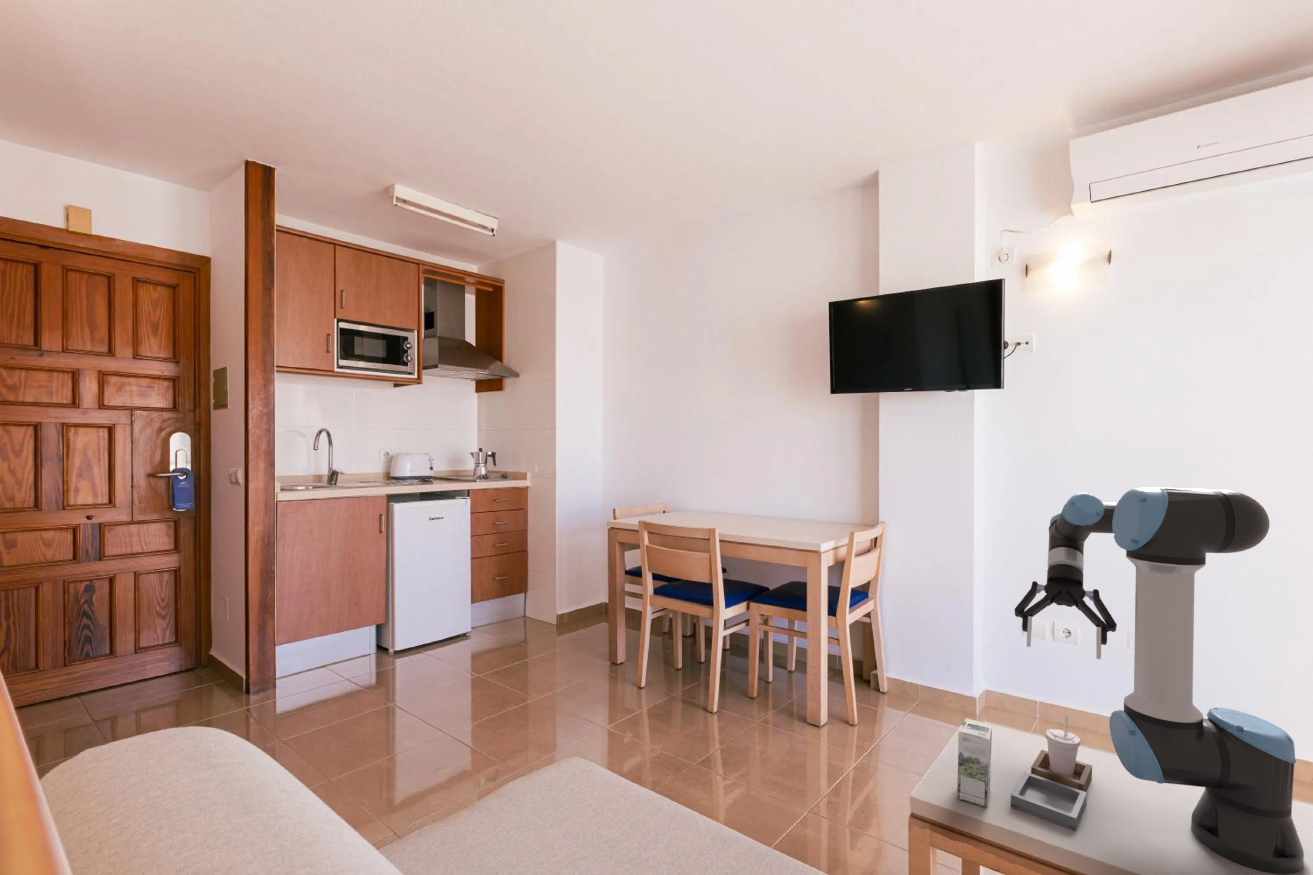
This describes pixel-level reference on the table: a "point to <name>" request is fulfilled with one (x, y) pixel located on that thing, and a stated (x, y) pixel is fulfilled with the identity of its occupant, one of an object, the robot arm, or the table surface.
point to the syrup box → (974, 763)
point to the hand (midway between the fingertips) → (1062, 650)
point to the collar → (1080, 771)
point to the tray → (1049, 800)
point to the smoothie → (1062, 750)
